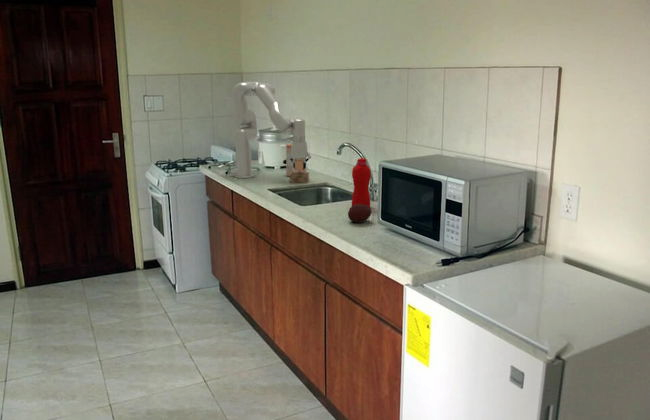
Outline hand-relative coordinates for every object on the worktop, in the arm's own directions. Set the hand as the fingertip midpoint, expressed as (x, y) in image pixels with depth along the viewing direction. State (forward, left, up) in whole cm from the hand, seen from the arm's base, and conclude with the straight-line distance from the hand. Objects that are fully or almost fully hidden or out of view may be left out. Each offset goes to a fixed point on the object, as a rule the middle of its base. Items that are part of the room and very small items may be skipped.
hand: (299, 168), depth 326 cm
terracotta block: (0, 0, -1) cm, 1 cm away
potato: (+40, -86, -8) cm, 96 cm away
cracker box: (-5, +21, -8) cm, 23 cm away
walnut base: (0, 0, -8) cm, 8 cm away
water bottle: (+39, -61, -8) cm, 73 cm away
